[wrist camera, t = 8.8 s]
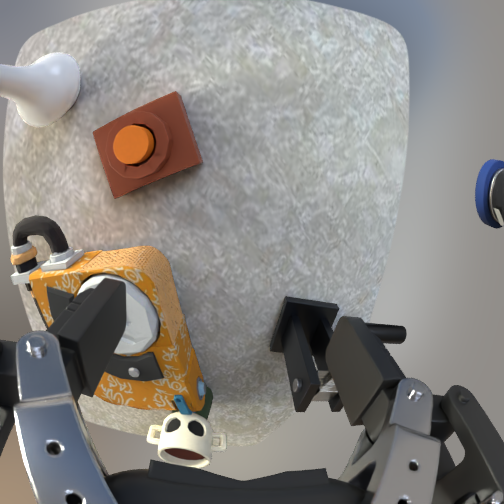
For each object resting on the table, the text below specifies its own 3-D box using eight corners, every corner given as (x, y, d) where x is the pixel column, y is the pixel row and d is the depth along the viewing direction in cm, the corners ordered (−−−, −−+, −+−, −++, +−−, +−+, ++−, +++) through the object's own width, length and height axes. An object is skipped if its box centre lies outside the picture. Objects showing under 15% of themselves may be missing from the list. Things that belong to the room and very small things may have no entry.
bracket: (285, 295, 33) (307, 369, 21) (336, 303, 34) (374, 371, 22) (269, 345, 36) (280, 421, 24) (316, 350, 36) (340, 420, 24)
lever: (350, 311, 18) (356, 339, 16) (402, 317, 19) (410, 342, 17) (294, 380, 26) (295, 400, 24) (336, 381, 26) (339, 401, 25)
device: (75, 414, 30) (-14, 234, 20) (91, 381, 38) (24, 216, 28) (209, 427, 30) (138, 192, 20) (212, 384, 38) (165, 181, 28)
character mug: (228, 378, 38) (226, 451, 25) (227, 406, 40) (226, 471, 28) (157, 371, 37) (137, 439, 25) (163, 399, 39) (149, 462, 27)
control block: (180, 95, 25) (171, 86, 21) (203, 162, 27) (197, 163, 24) (101, 132, 25) (83, 131, 21) (122, 195, 28) (106, 202, 24)
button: (148, 120, 22) (141, 118, 20) (159, 154, 23) (153, 154, 22) (116, 136, 22) (108, 135, 21) (127, 168, 24) (119, 170, 22)
